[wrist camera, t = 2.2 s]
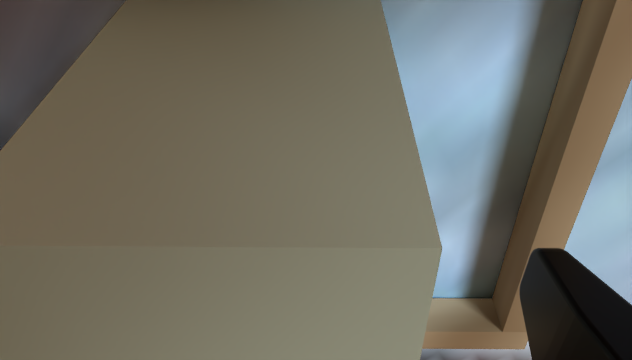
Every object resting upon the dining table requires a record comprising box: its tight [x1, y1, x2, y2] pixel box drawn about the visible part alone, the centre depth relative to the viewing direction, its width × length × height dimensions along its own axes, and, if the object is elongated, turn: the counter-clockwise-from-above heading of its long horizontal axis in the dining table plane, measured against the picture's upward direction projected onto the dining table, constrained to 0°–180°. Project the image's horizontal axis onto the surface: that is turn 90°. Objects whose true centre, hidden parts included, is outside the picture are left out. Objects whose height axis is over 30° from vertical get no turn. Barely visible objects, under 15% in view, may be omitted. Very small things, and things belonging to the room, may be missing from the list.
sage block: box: [0, 0, 442, 360], centre depth 9 cm, size 5×5×7 cm
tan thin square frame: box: [422, 0, 632, 349], centre depth 12 cm, size 15×15×1 cm
